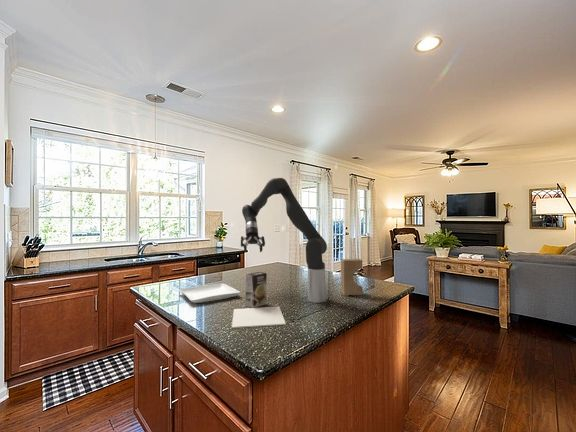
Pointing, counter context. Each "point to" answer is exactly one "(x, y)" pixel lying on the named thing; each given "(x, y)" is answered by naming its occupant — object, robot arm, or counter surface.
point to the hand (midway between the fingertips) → (253, 251)
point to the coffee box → (256, 289)
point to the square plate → (209, 293)
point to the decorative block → (350, 277)
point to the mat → (257, 317)
